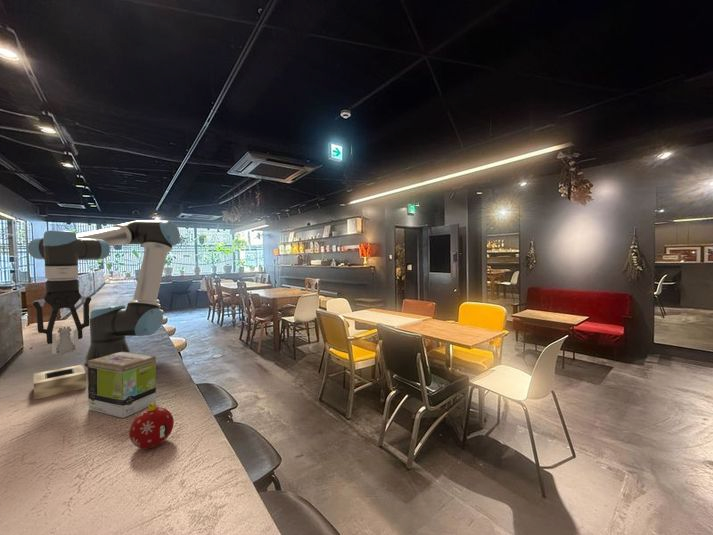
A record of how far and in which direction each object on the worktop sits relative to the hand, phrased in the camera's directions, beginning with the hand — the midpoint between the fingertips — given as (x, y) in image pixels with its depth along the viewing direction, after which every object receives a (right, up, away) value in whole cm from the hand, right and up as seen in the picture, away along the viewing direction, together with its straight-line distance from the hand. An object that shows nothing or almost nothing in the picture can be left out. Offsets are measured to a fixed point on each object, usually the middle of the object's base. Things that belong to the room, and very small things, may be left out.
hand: (65, 350), depth 96 cm
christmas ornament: (+46, -15, -26) cm, 55 cm away
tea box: (+25, -15, -8) cm, 30 cm away
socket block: (-6, -14, +4) cm, 16 cm away
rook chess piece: (0, 0, 0) cm, 0 cm away
